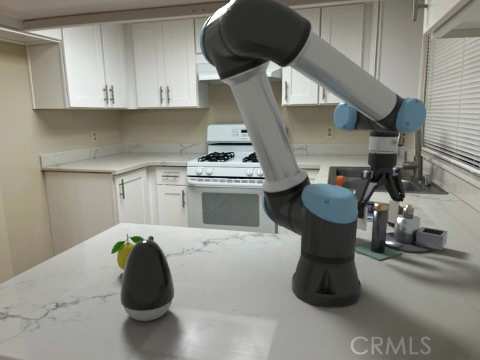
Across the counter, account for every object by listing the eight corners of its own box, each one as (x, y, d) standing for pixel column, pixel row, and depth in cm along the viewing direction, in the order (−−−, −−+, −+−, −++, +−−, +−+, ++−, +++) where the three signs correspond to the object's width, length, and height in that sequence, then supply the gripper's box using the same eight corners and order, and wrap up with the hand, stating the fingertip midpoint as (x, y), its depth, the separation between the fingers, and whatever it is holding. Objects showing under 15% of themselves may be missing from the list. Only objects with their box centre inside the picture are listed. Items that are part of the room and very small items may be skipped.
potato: (391, 221, 137) (393, 200, 135) (412, 228, 128) (414, 206, 126) (376, 223, 134) (378, 202, 132) (397, 230, 125) (399, 208, 123)
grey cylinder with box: (441, 250, 102) (445, 212, 100) (390, 239, 111) (393, 205, 109) (446, 243, 108) (450, 208, 106) (397, 234, 116) (400, 201, 114)
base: (413, 256, 101) (414, 253, 101) (367, 240, 114) (367, 237, 114) (445, 246, 109) (446, 243, 109) (398, 232, 123) (399, 229, 122)
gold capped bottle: (379, 254, 101) (383, 205, 99) (368, 250, 104) (371, 203, 102) (387, 251, 104) (391, 204, 101) (375, 247, 107) (378, 201, 104)
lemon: (147, 268, 92) (146, 231, 91) (135, 278, 87) (133, 238, 85) (125, 265, 94) (123, 228, 93) (111, 274, 89) (109, 235, 87)
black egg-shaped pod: (178, 300, 76) (176, 231, 74) (170, 328, 66) (168, 249, 63) (129, 300, 76) (126, 231, 73) (114, 329, 66) (109, 250, 63)
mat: (379, 260, 98) (379, 259, 98) (350, 249, 106) (350, 248, 106) (402, 253, 103) (402, 252, 103) (373, 243, 111) (373, 242, 111)
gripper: (363, 155, 90) (358, 236, 94) (422, 151, 103) (415, 222, 106) (340, 152, 96) (336, 228, 100) (398, 149, 109) (393, 217, 113)
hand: (377, 225), depth 103 cm, fingers open, 13 cm apart
